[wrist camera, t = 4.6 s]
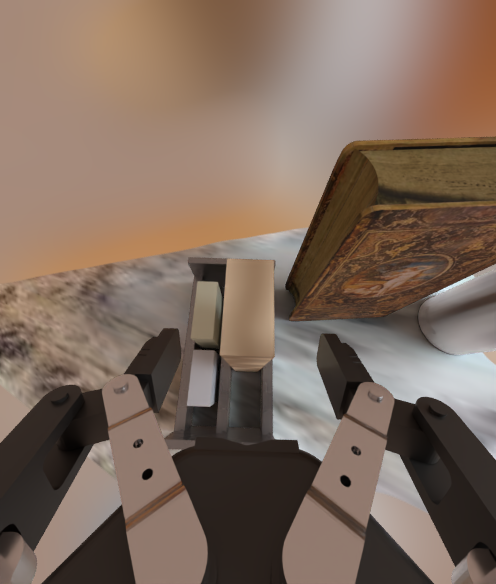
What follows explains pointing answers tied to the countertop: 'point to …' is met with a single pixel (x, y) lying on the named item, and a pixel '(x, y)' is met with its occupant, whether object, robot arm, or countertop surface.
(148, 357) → the robot arm
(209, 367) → the pale grey block
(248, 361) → the birch board
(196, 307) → the sage offcut
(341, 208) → the book
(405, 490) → the countertop surface
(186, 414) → the rack
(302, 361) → the countertop surface
